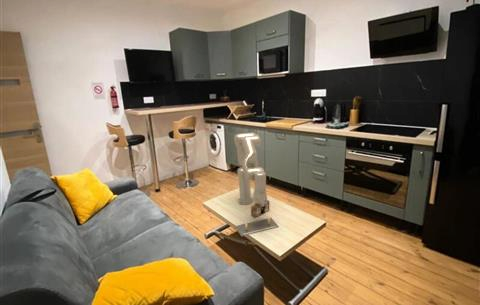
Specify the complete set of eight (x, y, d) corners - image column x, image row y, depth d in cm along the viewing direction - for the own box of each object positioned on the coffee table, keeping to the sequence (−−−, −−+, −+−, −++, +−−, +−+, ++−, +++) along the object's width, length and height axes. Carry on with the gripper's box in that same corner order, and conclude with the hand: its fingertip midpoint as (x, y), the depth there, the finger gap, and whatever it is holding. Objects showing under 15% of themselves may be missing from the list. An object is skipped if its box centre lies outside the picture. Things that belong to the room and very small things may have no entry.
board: (235, 227, 169) (234, 219, 168) (271, 219, 178) (271, 211, 176) (241, 238, 157) (241, 229, 156) (279, 228, 166) (279, 220, 164)
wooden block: (251, 215, 167) (250, 205, 164) (265, 208, 175) (265, 199, 172) (255, 218, 164) (254, 208, 161) (269, 210, 172) (269, 201, 169)
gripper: (248, 186, 167) (248, 209, 173) (265, 195, 155) (264, 219, 160) (256, 183, 171) (256, 205, 177) (273, 191, 159) (272, 215, 165)
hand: (260, 212), depth 169 cm, fingers closed on wooden block, 4 cm apart
